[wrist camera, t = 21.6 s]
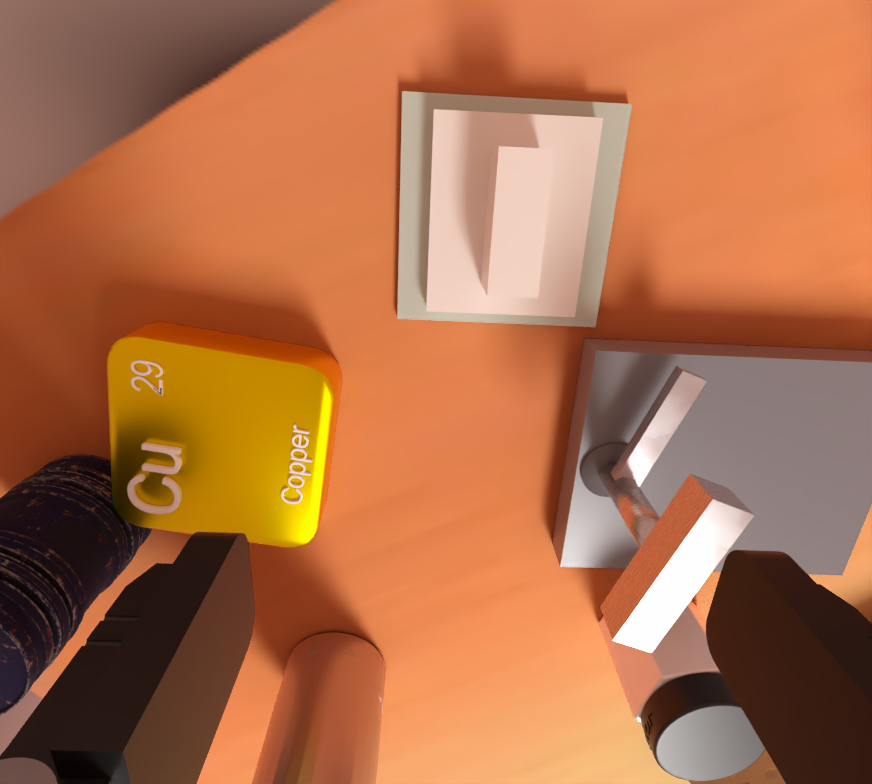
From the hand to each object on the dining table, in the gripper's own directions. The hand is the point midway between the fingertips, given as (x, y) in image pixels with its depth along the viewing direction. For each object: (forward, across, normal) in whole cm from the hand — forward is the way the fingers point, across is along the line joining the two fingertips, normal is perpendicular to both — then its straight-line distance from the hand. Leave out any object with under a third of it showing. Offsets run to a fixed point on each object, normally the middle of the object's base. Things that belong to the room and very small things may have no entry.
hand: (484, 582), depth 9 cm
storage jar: (+30, +27, +20) cm, 45 cm away
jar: (+30, -20, +30) cm, 47 cm away
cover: (+30, -4, -4) cm, 30 cm away
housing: (+30, -22, +13) cm, 39 cm away
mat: (+30, -4, -4) cm, 31 cm away
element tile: (+31, +15, +12) cm, 36 cm away
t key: (+27, -14, +11) cm, 32 cm away
